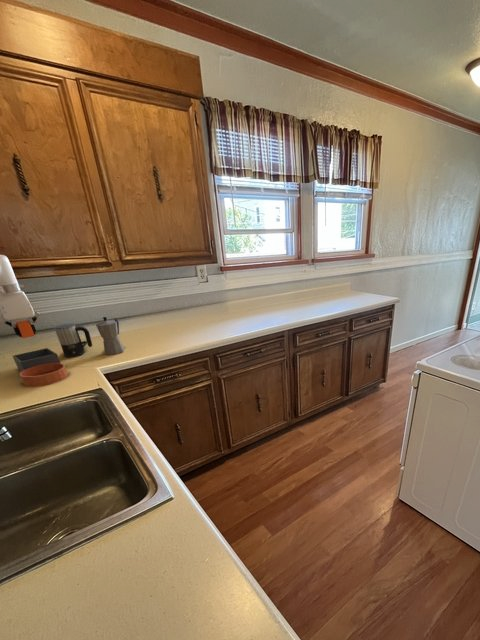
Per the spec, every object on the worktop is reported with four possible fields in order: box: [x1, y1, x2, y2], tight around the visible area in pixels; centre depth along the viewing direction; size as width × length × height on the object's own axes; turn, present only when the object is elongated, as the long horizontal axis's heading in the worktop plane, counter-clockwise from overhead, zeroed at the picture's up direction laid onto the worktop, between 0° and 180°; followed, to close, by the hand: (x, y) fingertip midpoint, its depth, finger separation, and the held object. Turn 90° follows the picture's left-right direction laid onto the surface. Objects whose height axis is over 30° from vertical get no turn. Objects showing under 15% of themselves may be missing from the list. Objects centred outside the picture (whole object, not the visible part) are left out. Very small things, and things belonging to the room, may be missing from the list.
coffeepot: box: [95, 316, 125, 356], centre depth 165 cm, size 15×9×18 cm, turn 174°
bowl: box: [19, 362, 69, 387], centre depth 135 cm, size 15×15×5 cm
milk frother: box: [52, 323, 93, 358], centre depth 166 cm, size 14×16×15 cm
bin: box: [12, 347, 61, 373], centre depth 145 cm, size 13×13×8 cm
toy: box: [15, 320, 36, 339], centre depth 134 cm, size 4×4×6 cm
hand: (27, 334), depth 135 cm, fingers closed on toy, 4 cm apart
